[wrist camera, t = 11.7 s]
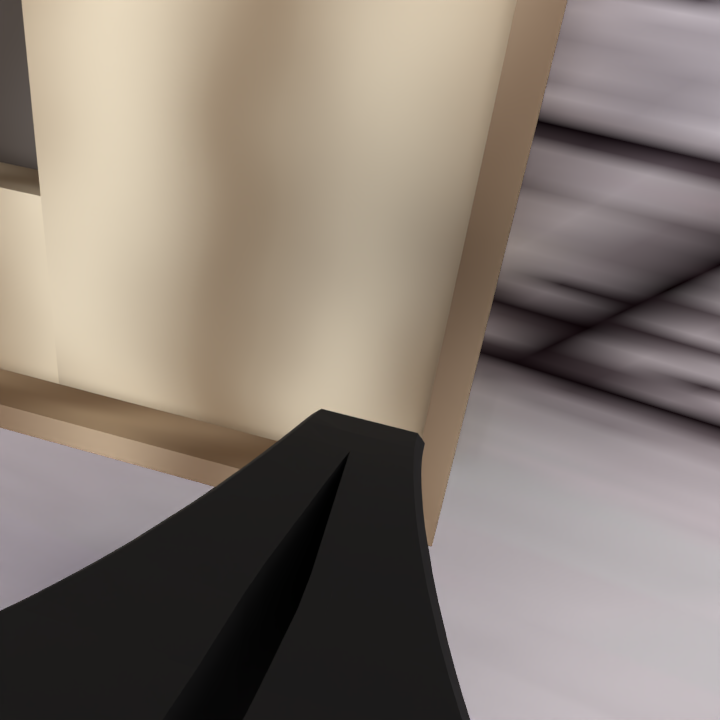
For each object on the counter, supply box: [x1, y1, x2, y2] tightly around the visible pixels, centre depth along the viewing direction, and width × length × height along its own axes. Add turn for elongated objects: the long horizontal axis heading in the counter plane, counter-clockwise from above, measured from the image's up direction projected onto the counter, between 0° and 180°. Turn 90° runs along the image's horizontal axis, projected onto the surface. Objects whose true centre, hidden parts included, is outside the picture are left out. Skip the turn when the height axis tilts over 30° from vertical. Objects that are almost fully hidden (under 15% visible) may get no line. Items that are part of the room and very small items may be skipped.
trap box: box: [0, 0, 567, 546], centre depth 17 cm, size 24×14×4 cm, turn 83°
